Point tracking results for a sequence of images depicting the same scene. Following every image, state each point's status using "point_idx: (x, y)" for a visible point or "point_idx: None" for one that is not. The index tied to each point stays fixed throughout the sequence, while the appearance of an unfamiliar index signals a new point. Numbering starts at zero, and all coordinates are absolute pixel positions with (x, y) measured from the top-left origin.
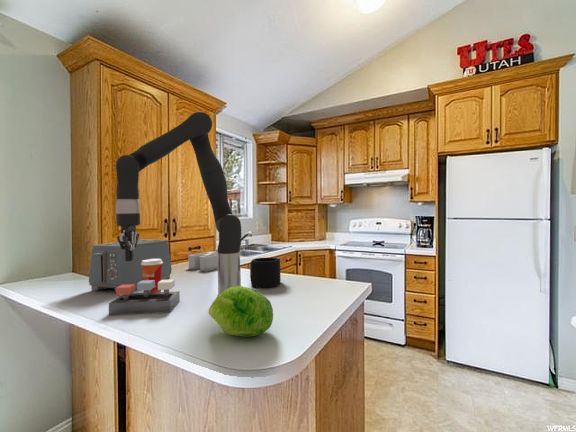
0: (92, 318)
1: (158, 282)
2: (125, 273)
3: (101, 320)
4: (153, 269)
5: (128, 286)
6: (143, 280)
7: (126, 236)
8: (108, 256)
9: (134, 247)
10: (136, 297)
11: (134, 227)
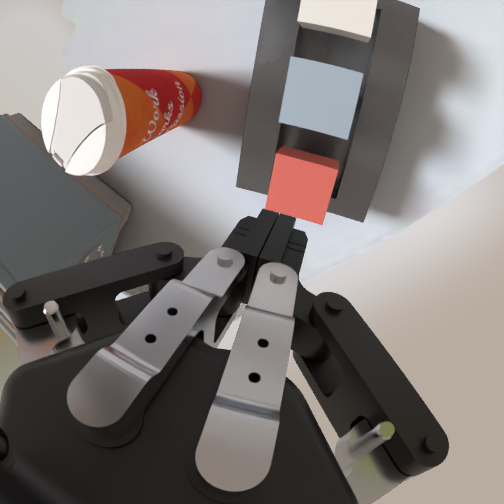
0: (369, 243)
1: (365, 34)
2: (83, 225)
3: (402, 218)
4: (134, 96)
5: (316, 176)
6: (280, 114)
7: (330, 451)
8: None
9: (181, 255)
10: (279, 136)
11: (35, 453)
